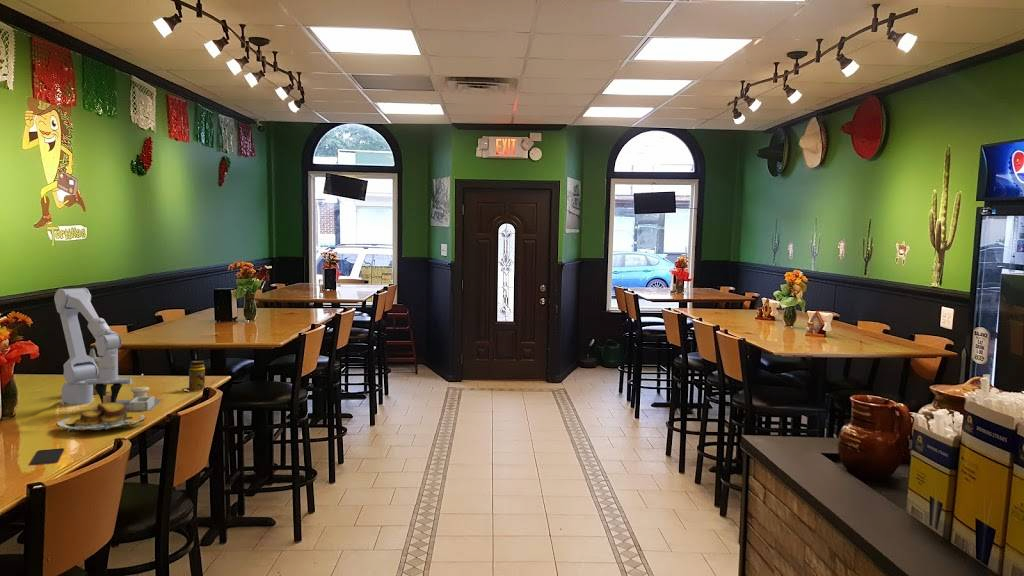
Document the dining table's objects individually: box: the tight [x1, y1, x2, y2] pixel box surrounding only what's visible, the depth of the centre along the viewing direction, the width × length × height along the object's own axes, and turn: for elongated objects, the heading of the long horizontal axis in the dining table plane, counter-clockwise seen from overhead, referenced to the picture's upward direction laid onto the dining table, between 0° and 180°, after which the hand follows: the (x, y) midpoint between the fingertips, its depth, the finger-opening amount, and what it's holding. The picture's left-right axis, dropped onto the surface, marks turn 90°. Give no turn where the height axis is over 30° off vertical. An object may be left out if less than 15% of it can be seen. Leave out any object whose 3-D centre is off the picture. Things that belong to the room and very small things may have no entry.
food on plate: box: [55, 402, 147, 432], centre depth 221 cm, size 25×25×7 cm
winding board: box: [91, 386, 164, 412], centre depth 242 cm, size 20×17×6 cm
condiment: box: [182, 360, 206, 393], centre depth 276 cm, size 7×8×12 cm
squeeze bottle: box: [88, 348, 99, 395], centre depth 263 cm, size 8×8×18 cm
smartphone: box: [28, 447, 65, 466], centre depth 190 cm, size 7×1×14 cm
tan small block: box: [103, 392, 112, 403], centre depth 238 cm, size 2×4×5 cm, turn 15°
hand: (108, 404), depth 238 cm, fingers closed on tan small block, 2 cm apart
